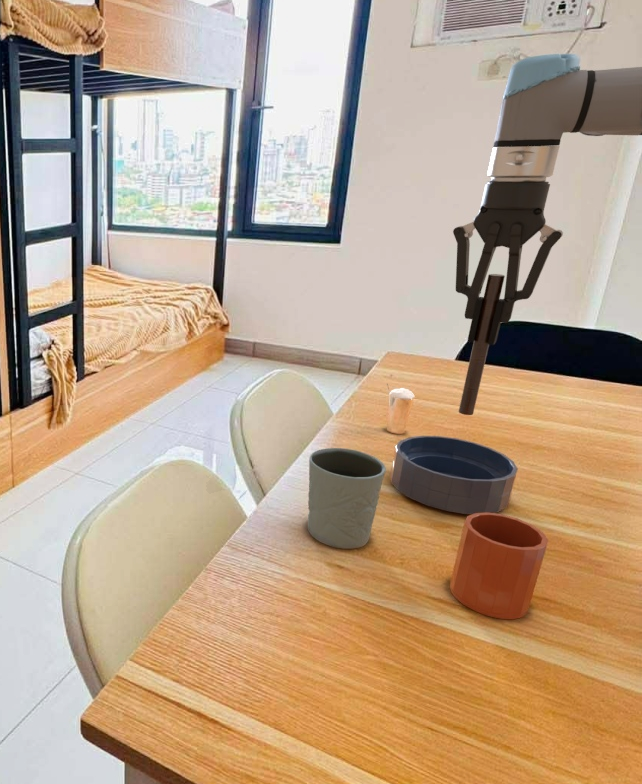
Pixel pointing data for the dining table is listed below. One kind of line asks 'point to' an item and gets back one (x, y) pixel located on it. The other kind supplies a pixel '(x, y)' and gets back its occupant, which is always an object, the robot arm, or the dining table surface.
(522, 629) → the dining table surface
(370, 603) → the dining table surface
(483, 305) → the stirring stick
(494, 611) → the pot
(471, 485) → the bowl
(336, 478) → the grey cup
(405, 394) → the milkshake
